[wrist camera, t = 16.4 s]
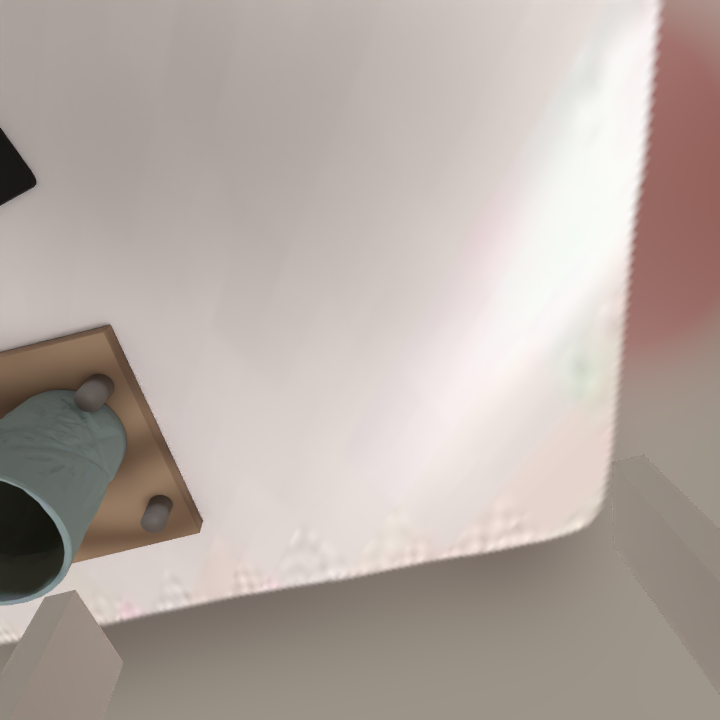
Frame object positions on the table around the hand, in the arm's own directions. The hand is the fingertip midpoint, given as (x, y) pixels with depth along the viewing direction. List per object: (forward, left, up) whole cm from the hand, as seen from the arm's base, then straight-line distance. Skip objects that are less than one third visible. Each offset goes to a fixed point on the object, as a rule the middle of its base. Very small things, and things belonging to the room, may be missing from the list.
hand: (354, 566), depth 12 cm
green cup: (+7, -23, -27) cm, 37 cm away
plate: (+10, -25, -29) cm, 39 cm away
